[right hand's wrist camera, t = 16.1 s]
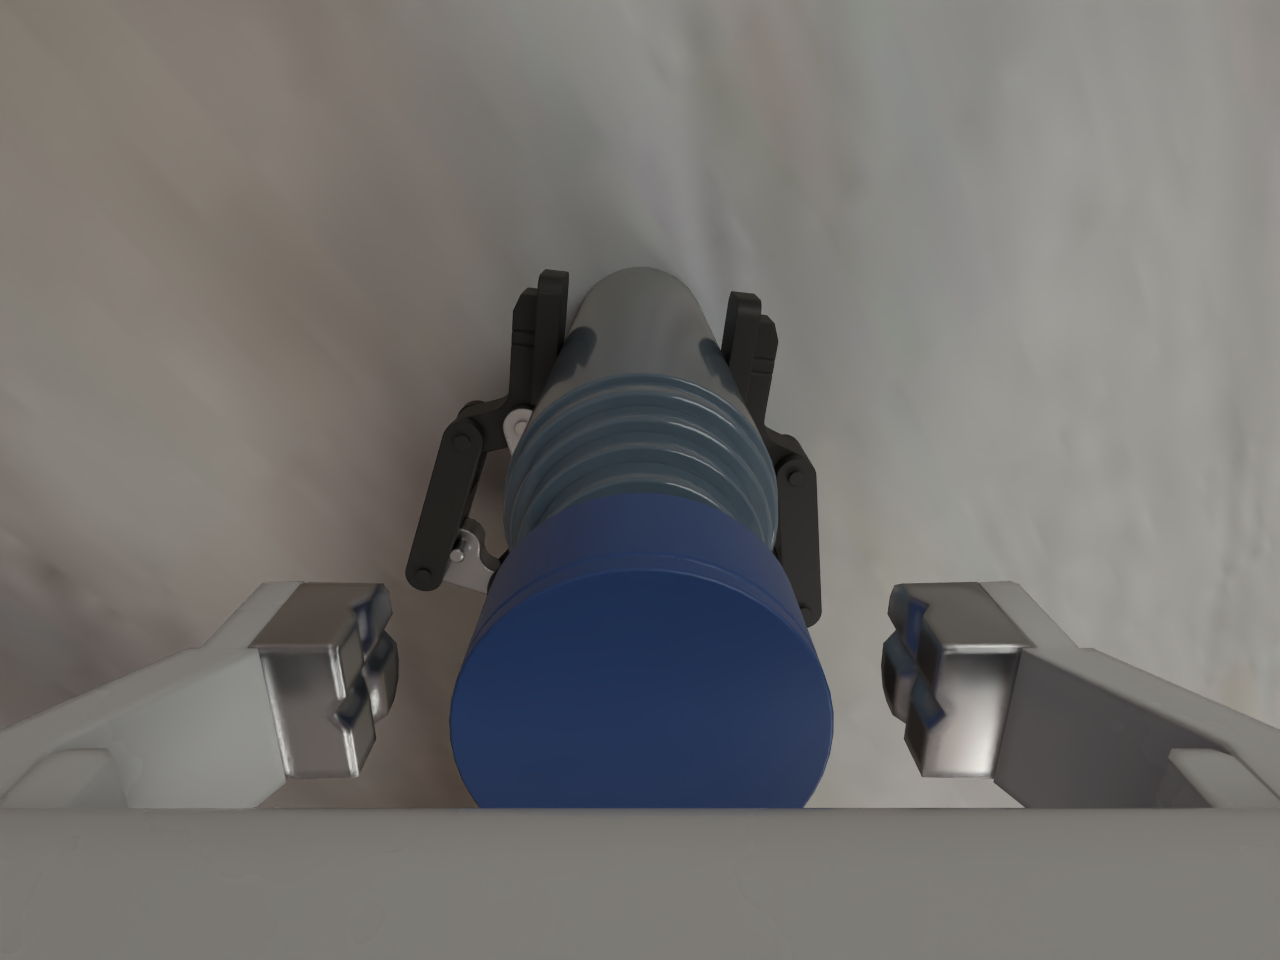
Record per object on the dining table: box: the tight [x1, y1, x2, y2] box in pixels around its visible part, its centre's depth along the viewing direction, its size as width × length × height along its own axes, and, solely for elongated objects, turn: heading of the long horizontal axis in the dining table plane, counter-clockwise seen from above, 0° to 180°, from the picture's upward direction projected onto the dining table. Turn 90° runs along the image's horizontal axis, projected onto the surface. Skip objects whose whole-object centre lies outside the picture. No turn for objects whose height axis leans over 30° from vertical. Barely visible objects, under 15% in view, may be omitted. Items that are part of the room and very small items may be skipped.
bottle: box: [504, 267, 778, 552], centre depth 19 cm, size 5×5×22 cm
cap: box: [449, 493, 833, 808], centre depth 9 cm, size 4×4×2 cm
